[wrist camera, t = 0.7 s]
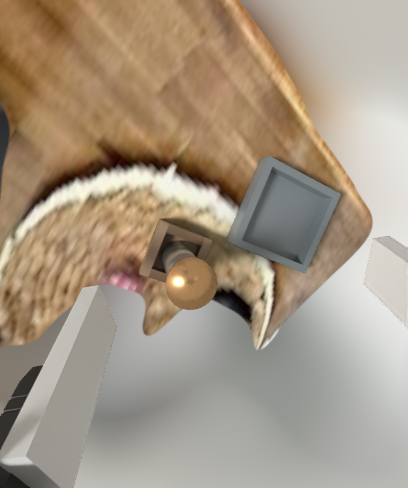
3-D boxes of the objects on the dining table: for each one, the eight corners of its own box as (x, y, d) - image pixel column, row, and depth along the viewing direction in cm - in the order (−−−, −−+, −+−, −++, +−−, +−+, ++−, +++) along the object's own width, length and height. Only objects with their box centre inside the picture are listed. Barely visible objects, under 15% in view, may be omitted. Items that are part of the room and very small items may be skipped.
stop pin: (165, 232, 32) (178, 252, 21) (197, 244, 34) (225, 270, 22) (153, 264, 33) (158, 301, 21) (184, 275, 34) (205, 315, 22)
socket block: (159, 218, 33) (160, 220, 30) (208, 238, 35) (212, 241, 32) (139, 268, 33) (139, 274, 31) (188, 285, 35) (192, 291, 33)
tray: (260, 158, 34) (269, 155, 32) (328, 194, 38) (341, 194, 35) (225, 241, 35) (231, 244, 33) (295, 268, 39) (305, 273, 36)
